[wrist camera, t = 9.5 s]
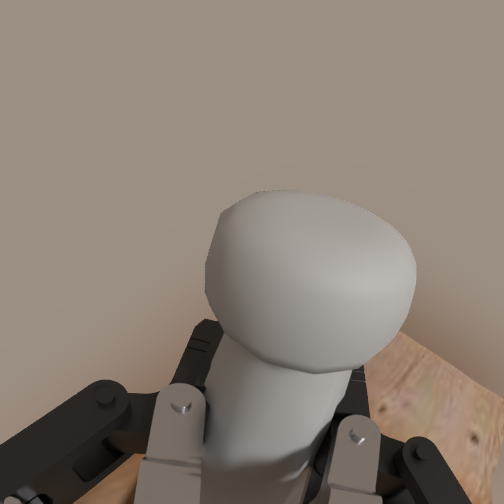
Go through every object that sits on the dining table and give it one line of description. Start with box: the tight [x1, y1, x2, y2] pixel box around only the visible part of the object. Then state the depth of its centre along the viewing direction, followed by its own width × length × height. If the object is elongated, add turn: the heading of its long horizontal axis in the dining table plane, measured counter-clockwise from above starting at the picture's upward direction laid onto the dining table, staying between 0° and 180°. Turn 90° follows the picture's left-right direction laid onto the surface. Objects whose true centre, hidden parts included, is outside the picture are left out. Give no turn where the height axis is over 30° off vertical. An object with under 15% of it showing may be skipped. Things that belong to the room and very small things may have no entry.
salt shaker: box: [200, 190, 416, 504], centre depth 9 cm, size 6×6×13 cm
